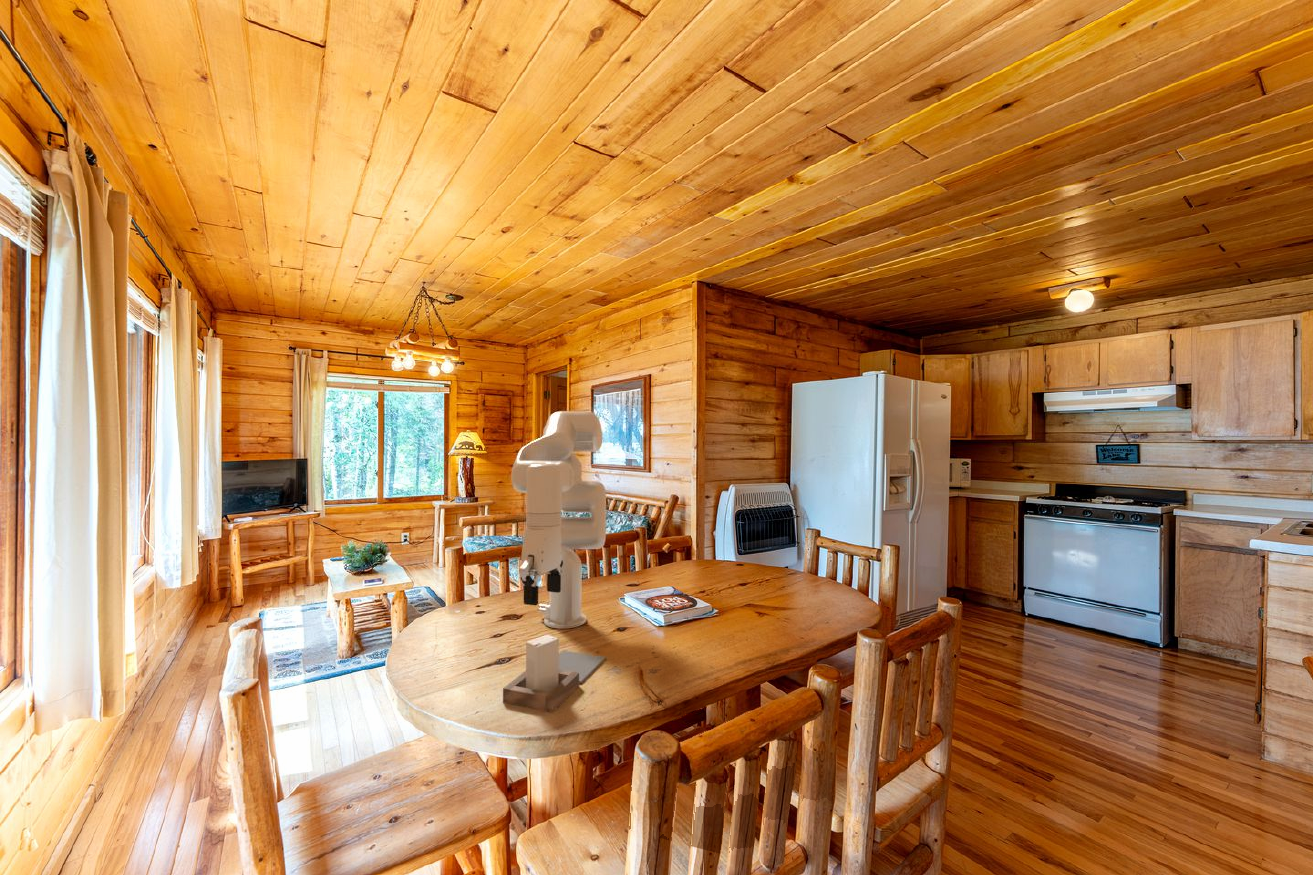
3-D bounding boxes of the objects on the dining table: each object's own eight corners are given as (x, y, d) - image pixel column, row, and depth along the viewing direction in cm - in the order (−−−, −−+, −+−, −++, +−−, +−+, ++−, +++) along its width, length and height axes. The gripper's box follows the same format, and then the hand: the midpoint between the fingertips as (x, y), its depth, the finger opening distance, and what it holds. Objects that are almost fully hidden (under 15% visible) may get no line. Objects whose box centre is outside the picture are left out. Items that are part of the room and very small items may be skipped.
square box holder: (502, 702, 116) (503, 688, 115) (532, 677, 127) (532, 664, 127) (552, 712, 112) (553, 697, 112) (579, 685, 123) (579, 672, 123)
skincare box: (546, 685, 123) (547, 632, 123) (559, 692, 120) (560, 638, 120) (524, 695, 118) (524, 640, 118) (537, 702, 116) (537, 646, 115)
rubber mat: (535, 675, 128) (535, 673, 128) (563, 652, 141) (563, 650, 141) (580, 683, 124) (580, 681, 124) (605, 659, 137) (605, 656, 137)
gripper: (548, 513, 128) (547, 585, 128) (506, 524, 111) (505, 607, 111) (577, 515, 125) (576, 589, 126) (538, 527, 109) (537, 612, 109)
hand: (542, 597), depth 119 cm, fingers open, 9 cm apart
